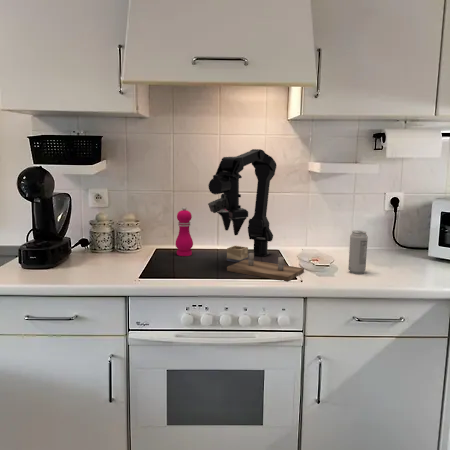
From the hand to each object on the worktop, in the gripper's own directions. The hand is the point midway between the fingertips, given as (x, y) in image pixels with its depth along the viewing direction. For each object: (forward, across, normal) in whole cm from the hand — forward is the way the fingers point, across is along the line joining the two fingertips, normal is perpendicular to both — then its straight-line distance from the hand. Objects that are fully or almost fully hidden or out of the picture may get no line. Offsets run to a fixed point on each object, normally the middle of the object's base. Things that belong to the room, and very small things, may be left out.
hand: (231, 232), depth 184 cm
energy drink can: (+13, +24, +40) cm, 48 cm away
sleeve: (+13, -6, +5) cm, 15 cm away
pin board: (+12, +13, +8) cm, 20 cm away
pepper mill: (+13, -22, -12) cm, 28 cm away
